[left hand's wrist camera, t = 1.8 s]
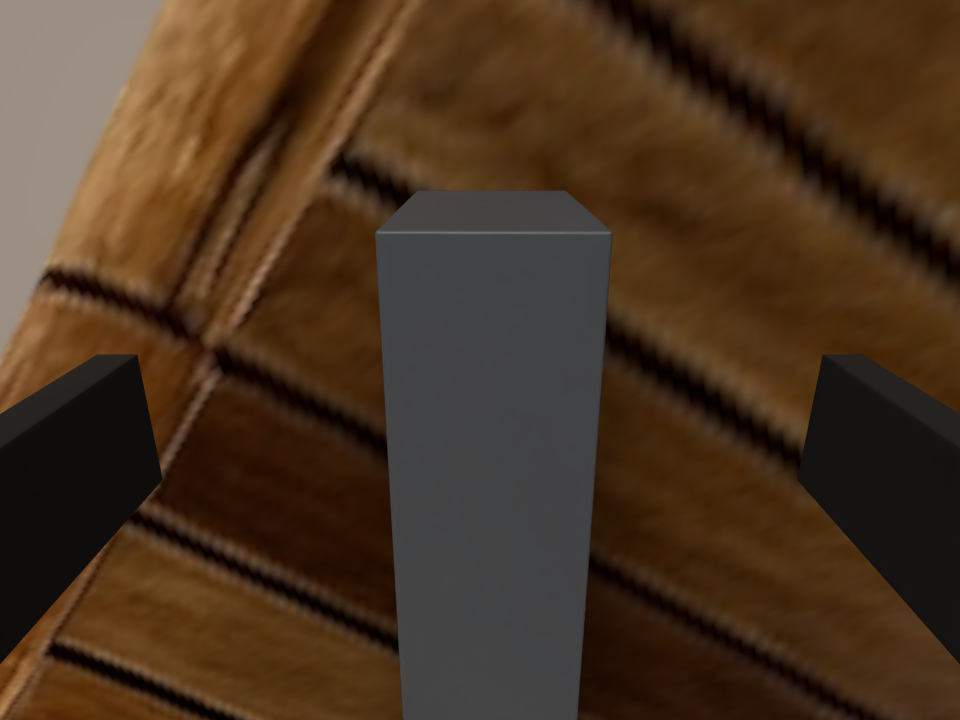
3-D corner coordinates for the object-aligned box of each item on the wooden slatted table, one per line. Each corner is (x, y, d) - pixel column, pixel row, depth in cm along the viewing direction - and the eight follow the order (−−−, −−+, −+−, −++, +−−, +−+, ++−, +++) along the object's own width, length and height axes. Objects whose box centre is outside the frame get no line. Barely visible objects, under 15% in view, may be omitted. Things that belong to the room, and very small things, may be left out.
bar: (416, 190, 21) (374, 231, 13) (567, 190, 21) (613, 231, 13) (434, 719, 30) (415, 935, 22) (542, 720, 30) (561, 937, 22)
